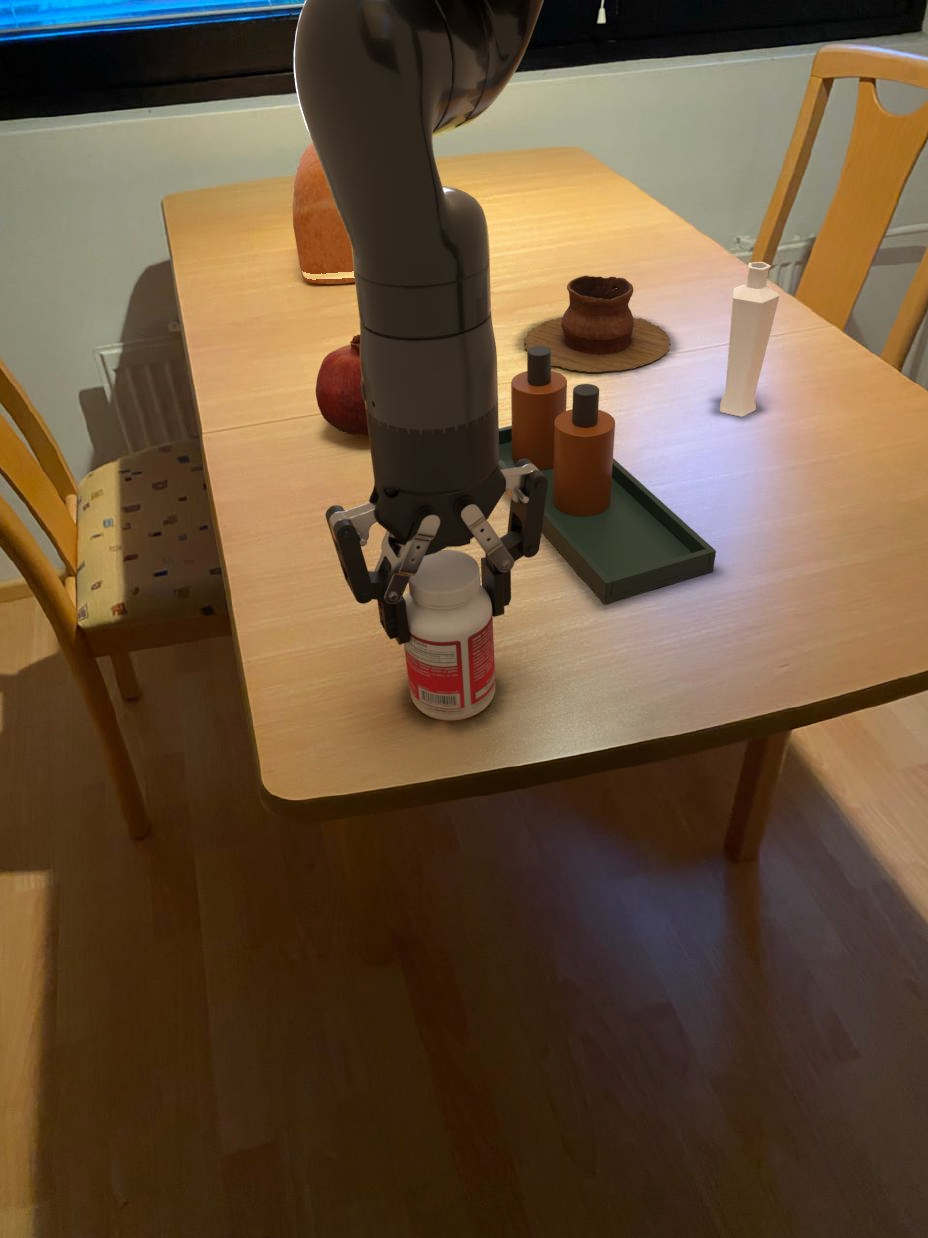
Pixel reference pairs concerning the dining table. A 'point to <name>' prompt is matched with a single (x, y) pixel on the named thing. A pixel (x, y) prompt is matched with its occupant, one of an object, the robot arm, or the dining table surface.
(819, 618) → the dining table surface
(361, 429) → the fruit
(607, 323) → the ceramic pot
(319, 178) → the bread
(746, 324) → the white faceted vase
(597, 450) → the amber bottle middle
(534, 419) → the amber bottle far
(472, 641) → the pill bottle
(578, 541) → the tray
